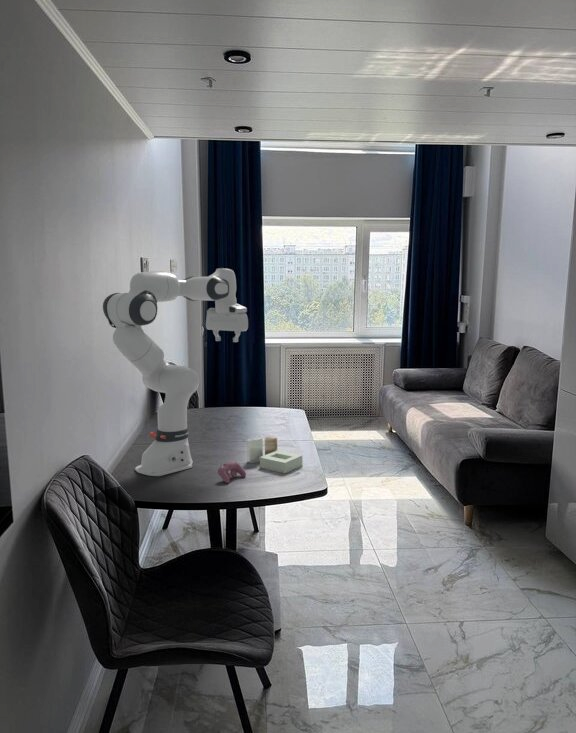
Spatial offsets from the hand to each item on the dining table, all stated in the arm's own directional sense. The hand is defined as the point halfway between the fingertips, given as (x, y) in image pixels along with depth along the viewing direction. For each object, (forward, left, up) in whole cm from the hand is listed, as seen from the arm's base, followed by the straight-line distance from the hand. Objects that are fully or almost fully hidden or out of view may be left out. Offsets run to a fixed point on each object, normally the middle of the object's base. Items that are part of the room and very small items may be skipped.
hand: (226, 341), depth 246 cm
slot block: (-9, -34, -45) cm, 58 cm away
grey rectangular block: (-9, -22, -45) cm, 51 cm away
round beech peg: (-2, -24, -45) cm, 52 cm away
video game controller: (-30, -28, -46) cm, 61 cm away
